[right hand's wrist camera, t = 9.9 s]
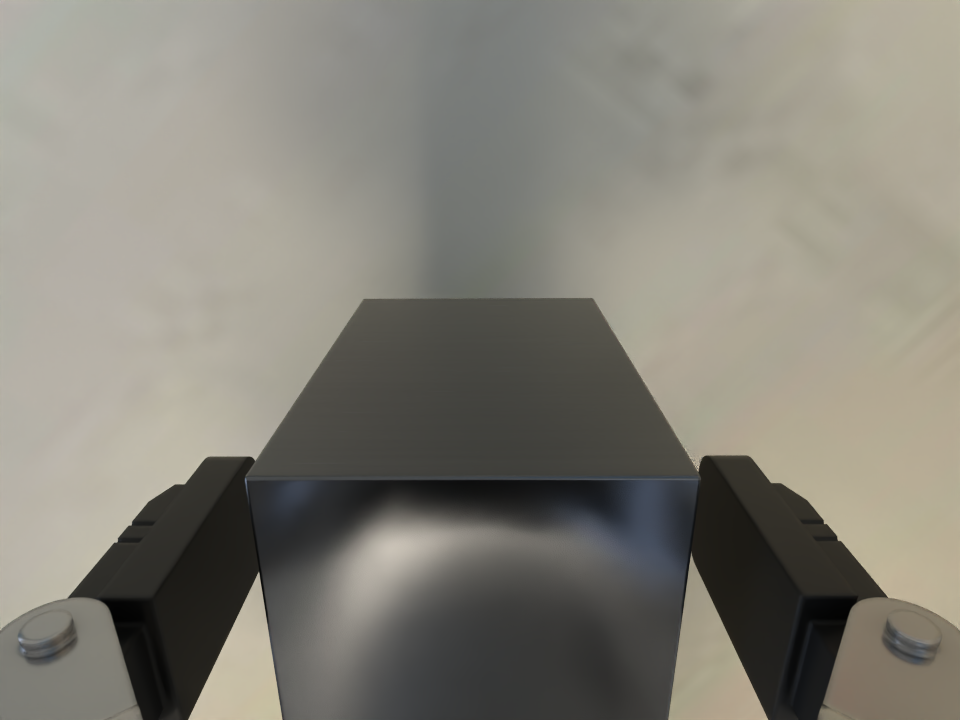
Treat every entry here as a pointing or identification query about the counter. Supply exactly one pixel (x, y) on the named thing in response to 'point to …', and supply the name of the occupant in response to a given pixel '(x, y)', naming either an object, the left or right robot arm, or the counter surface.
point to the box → (474, 521)
